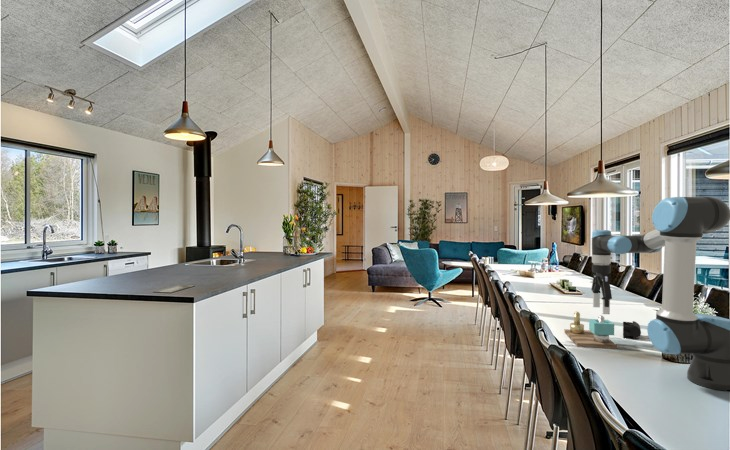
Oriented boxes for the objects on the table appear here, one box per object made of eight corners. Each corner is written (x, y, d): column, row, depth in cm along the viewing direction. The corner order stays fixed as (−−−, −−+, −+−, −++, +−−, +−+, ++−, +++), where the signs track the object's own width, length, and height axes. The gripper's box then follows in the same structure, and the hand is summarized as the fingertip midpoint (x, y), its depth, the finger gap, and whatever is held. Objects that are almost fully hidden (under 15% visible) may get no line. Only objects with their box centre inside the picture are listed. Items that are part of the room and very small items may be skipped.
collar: (614, 335, 185) (614, 324, 185) (594, 334, 187) (594, 323, 187) (608, 330, 193) (608, 319, 193) (589, 329, 195) (589, 319, 195)
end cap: (641, 340, 195) (641, 326, 195) (623, 338, 199) (623, 324, 199) (640, 335, 204) (640, 321, 204) (623, 333, 208) (623, 320, 207)
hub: (585, 334, 201) (585, 313, 200) (571, 334, 202) (571, 312, 202) (581, 331, 206) (581, 310, 206) (568, 330, 208) (568, 310, 208)
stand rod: (611, 343, 186) (610, 317, 186) (596, 342, 188) (596, 316, 187) (606, 339, 192) (606, 314, 192) (592, 338, 193) (592, 313, 193)
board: (616, 348, 184) (616, 345, 184) (577, 346, 187) (577, 343, 187) (599, 333, 207) (599, 330, 207) (564, 332, 211) (564, 329, 211)
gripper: (620, 267, 176) (620, 317, 177) (601, 261, 201) (601, 304, 201) (601, 267, 178) (600, 316, 179) (584, 260, 202) (584, 304, 203)
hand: (601, 310), depth 190 cm, fingers open, 13 cm apart
